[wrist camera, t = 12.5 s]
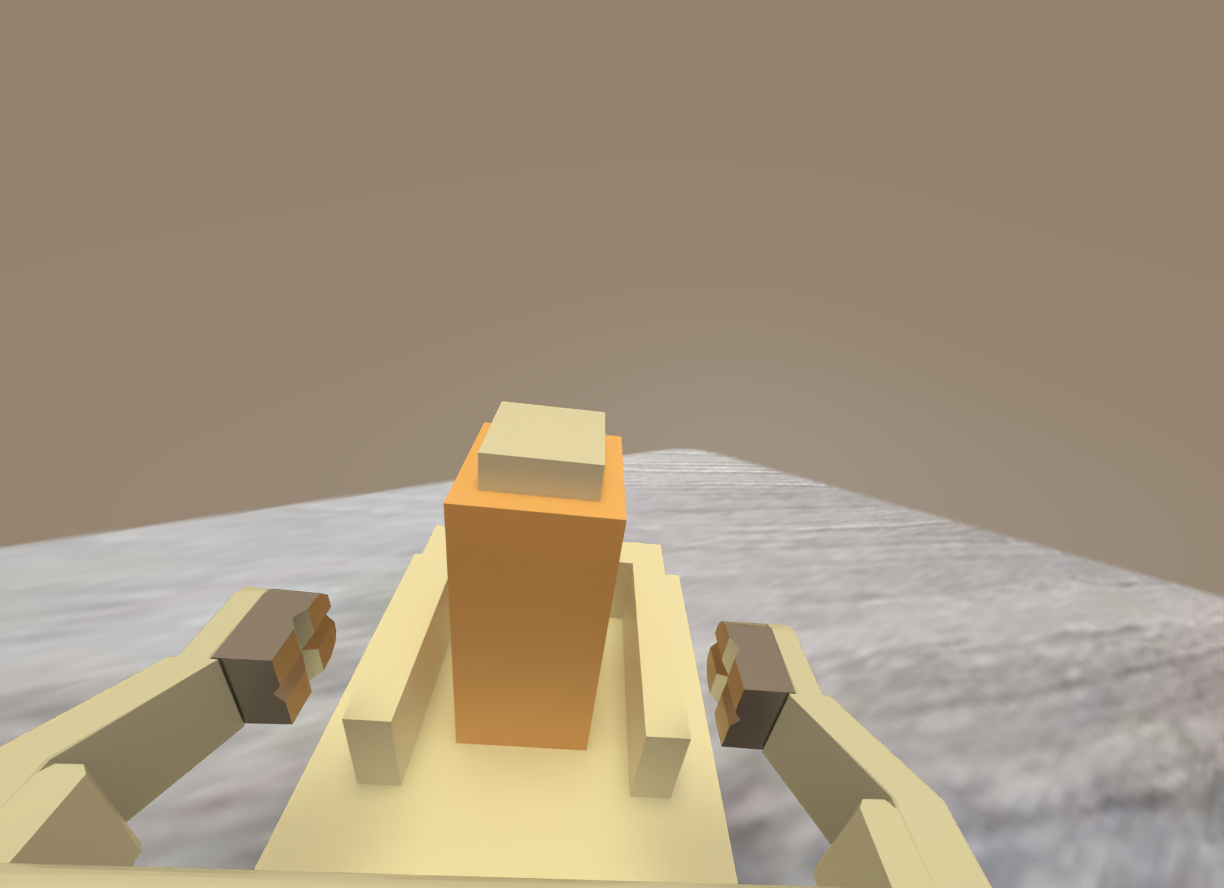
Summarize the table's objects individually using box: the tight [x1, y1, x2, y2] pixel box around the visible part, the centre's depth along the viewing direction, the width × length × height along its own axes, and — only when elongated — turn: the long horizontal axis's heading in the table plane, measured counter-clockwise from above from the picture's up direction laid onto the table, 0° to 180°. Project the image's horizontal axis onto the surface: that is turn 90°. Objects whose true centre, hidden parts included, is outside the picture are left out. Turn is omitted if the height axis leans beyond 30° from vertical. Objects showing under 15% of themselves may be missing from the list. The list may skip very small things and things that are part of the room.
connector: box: [444, 402, 626, 751], centre depth 14 cm, size 4×4×10 cm
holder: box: [254, 525, 738, 884], centre depth 16 cm, size 12×12×4 cm
